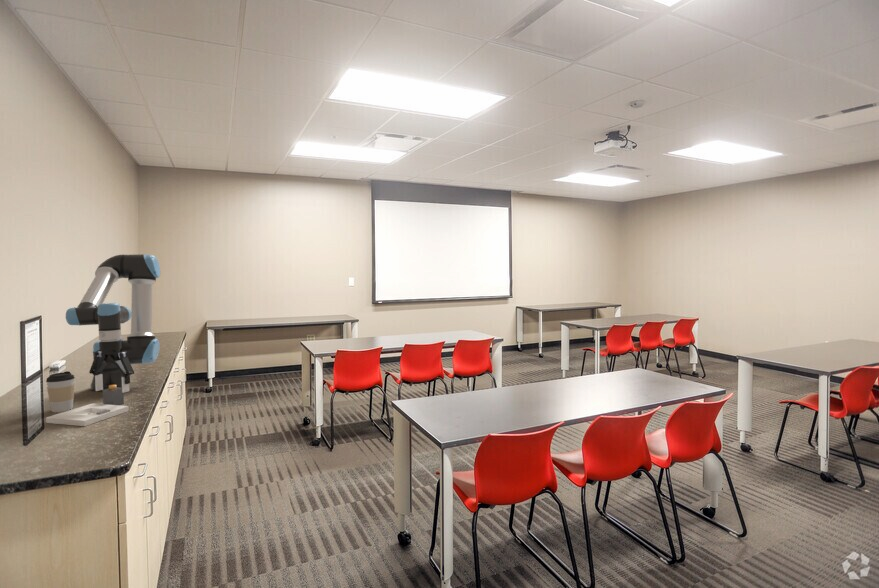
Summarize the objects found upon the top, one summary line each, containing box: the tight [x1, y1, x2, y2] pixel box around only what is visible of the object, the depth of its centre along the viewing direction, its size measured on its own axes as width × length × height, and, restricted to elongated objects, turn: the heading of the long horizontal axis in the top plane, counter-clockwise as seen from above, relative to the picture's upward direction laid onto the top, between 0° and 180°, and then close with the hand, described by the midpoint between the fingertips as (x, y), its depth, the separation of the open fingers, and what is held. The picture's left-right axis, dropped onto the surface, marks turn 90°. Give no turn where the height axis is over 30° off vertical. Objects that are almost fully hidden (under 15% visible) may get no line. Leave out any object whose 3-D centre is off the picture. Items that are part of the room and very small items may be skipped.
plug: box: [101, 385, 125, 406], centre depth 192 cm, size 5×5×8 cm
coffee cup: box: [45, 370, 75, 413], centre depth 187 cm, size 9×9×15 cm
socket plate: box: [45, 402, 130, 427], centre depth 178 cm, size 18×18×3 cm
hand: (112, 391), depth 192 cm, fingers open, 13 cm apart
